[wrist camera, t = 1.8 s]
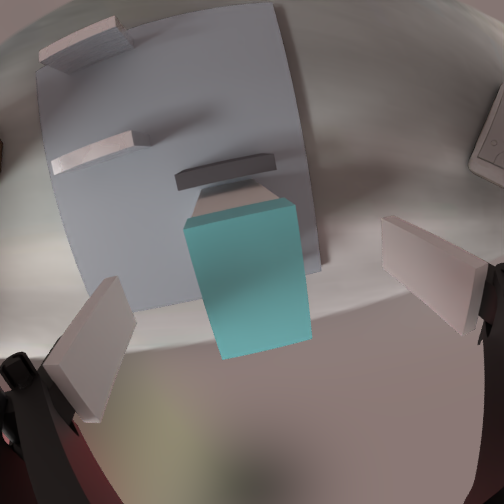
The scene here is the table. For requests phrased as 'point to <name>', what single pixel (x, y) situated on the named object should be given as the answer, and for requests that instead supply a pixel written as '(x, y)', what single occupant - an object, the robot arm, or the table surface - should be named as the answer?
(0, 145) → the beer bottle
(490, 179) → the digital clock
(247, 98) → the panel
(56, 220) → the table surface
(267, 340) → the white and teal box
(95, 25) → the port
